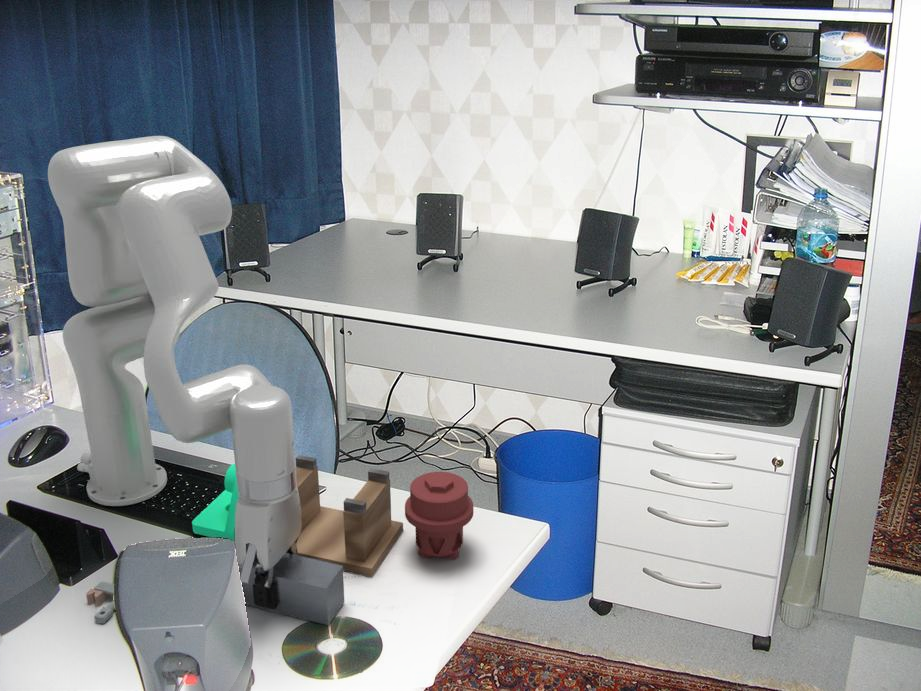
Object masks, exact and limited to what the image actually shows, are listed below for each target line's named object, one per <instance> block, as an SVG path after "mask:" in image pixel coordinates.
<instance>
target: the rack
mask: <svg viewBox="0 0 921 691" xmlns="http://www.w3.org/2000/svg"><path fill="white" fill-rule="evenodd" d="M295 464H296V479H297V488H298V493H299V499H300V507H301V518H302V528H301V533H300V535H299V536H298V537H299V538H298V539H297V543H296V546H297V549H298V552H297V555H298V556H302V557H307V558H311V559H315V560H320V561H324V562H328V563H333V564H337V565H341V566H343V572H347V573H350V574H355V575H361V576H363V577H364V576H365V577H369V578H373V576H374V575H375V574H376V573H377V571H378V569H379V567H380V566H381V564H382V563H383V562H384V560H385V559H386V557H387V556H388V554H389V553H390V551H391V550H392V548H393V547H394V545H395V543H396V542H397V541H398V539H399V538H400V536H401V535H402V533H403V532H404V522H402V521H398V520H397V521H396V520H392V500H391V499H392V498H391V494H392V493H391V479H390V471H388V470H382V469H376V468H369V469H368V471H367V481H366V482H365V484H364V485H363V486H362V487H361V489H360V490H359V491H358V492H357V493H356V495H355V496H354V497H353V498H349V497H346V498H345V499H344V500H343V510H341V509H338V508H337V509H336V508H332V507H331V508H330V507H327V506H322V505H321V498H320V497H321V496H320V482H319V467H318V464H317V457H311V456H306V455H301V454H297V456H295Z"/></svg>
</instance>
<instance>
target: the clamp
mask: <svg viewBox="0 0 921 691" xmlns="http://www.w3.org/2000/svg"><path fill="white" fill-rule="evenodd" d="M114 584H115V583H114ZM114 584H113V583H110V582H105V581H100V582H99V583H97V584H96V585H95V586H94V587H93V588H90V589H89V590H88V591H86V593H85V596H86V601H87V605H92V604H95V605H96V607H97V608H98V607H101V605H102V604H103V603H105V601H106V602H110V603H109V604H108V605H107V606H103V607H102V608H100V610H98V612H97V613H95V615H94V616H93V617H94V621H95V623H98V624H105V623H106V622H108V620H110V618H111V617H112V616H113V615H114V611H115V610H116V608H114V600H113V595H114Z"/></svg>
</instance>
